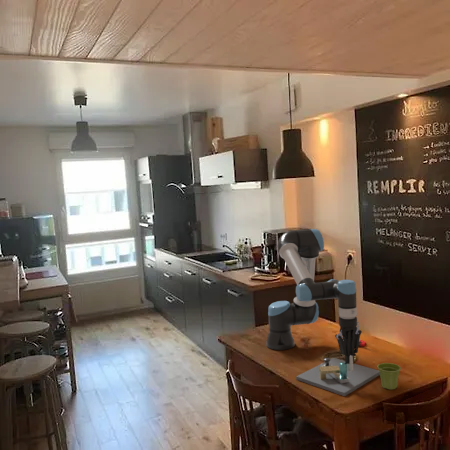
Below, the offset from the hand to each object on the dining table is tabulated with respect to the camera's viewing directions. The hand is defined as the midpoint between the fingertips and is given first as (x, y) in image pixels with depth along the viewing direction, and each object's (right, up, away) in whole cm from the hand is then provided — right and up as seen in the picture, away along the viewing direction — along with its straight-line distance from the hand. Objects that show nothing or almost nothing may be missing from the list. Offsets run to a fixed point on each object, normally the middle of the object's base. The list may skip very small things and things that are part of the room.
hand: (349, 370), depth 204 cm
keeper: (-8, -5, +5) cm, 10 cm away
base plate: (-3, -6, +9) cm, 11 cm away
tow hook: (+17, -1, +50) cm, 53 cm away
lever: (-5, -4, +7) cm, 10 cm away
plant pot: (+16, -6, -3) cm, 17 cm away
